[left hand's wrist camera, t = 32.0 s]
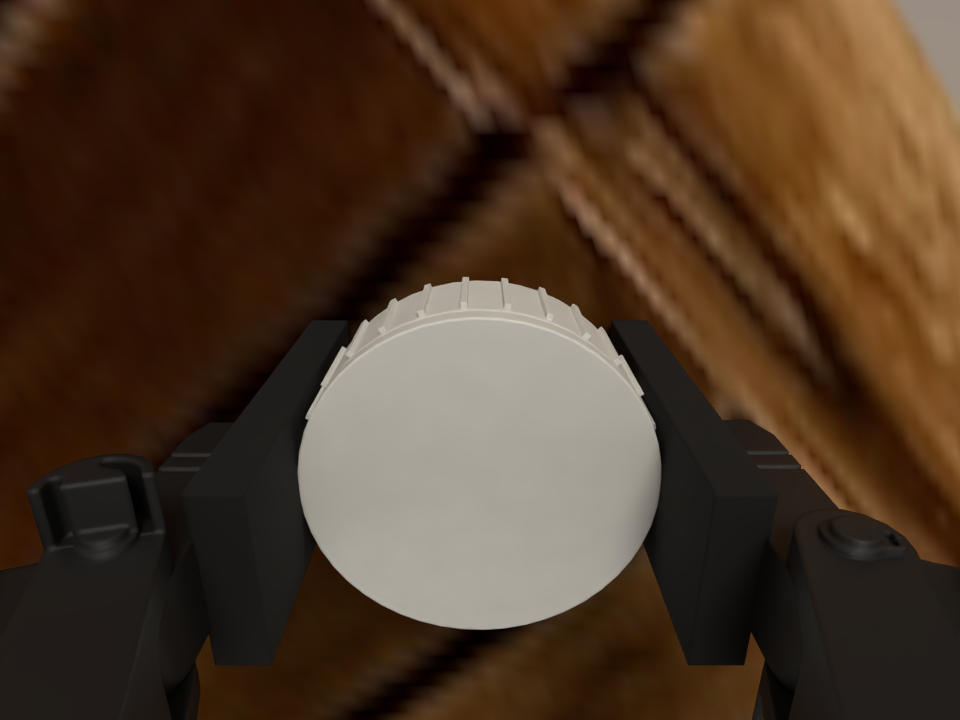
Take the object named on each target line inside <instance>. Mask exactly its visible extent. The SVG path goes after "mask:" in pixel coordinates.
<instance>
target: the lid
mask: <svg viewBox="0 0 960 720" xmlns="http://www.w3.org/2000/svg"><path fill="white" fill-rule="evenodd" d="M321 386H322V387H321V389H320V391H319V393H318V394H317V396H316V398H315V400H314V402H313V403H312V405H311V407H310V409H309V411H308V413H307V415H306V418H305V419H307V420H308V422H307V425H306V427H305V430H304V433H303V437H302V441H301V446H300V450H299V458H298V482H299V491H300V499H301V504H302V508H303V513H304V516H305V518H306V521H307V523H308V526H309V528H310V531H311V533H312V535H313V537H314V539H315V540H316V542H317V544H318V546H319V548H320V549H321V551H322V552H323V553H324V555H325V556H326V557H327V559H328V560H329V561H330V563H331V564H332V565H333V567H334V568H335V569H336V570H337V571H338V572H339V573H340V574H341V575H342V576H343V577H344V578H345V579H346V580H347V581H348V582H349V583H351V584H352V585H353V586H354V587H356V588H357V589H358V590H359V591H361V592H362V593H363V594H364V595H366V596H368V597H369V598H371V599H372V600H374V601H376V602H377V603H379V604H380V605H382V606H384V607H386V608H388V609H391V610H393V611H395V612H397V613H399V614H401V615H404V616H407V617H410V618H412V619H415V620H418V621H421V622H425V623H429V624H434V625H438V626H443V627H450V628H458V629H474V630H488V629H502V628H510V627H516V626H521V625H527V624H530V623H534V622H537V621H541V620H544V619H548V618H550V617H553V616H555V615H558V614H560V613H563V612H565V611H567V610H569V609H571V608H573V607H575V606H577V605H579V604H580V603H582V602H584V601H586V600H587V599H589V598H590V597H592V596H593V595H594V594H596V593H597V592H599V591H600V590H602V589H603V588H604V587H605V586H606V585H607V584H609V583H610V582H611V581H612V580H613V579H614V578H615V577H617V576H618V575H619V573H620V572H621V571H622V570H623V569H624V568H625V567H626V566H627V564H628V563H629V562H630V561H631V560H632V558H633V557H634V555H635V554H636V552H637V551H638V549H639V548H640V546H641V545H642V543H643V541H644V539H645V537H646V535H647V533H648V531H649V529H650V527H651V525H652V522H653V519H654V516H655V513H656V510H657V507H658V501H659V493H660V485H661V472H662V464H661V456H660V449H659V443H658V440H657V436H656V433H655V430H654V429H656V424H655V422H654V420H653V418H652V417H651V415H650V413H649V411H648V409H647V407H646V405H645V404H644V402H643V400H642V398H641V396H642V395H644V393H643V391H642V389H641V388H640V386H639V384H638V382H637V380H636V379H635V377H634V375H633V373H632V371H631V370H630V368H629V366H628V364H627V362H626V361H625V359H624V357H623V355H620V356H618V354H617V352H616V350H615V348H614V346H613V345H612V343H611V341H610V339H609V337H608V335H607V334H606V332H605V330H604V329H603V328H602V327H600V328H599V329H598V330H597V328H596V327H595V326H594V325H593V324H592V323H590V322H589V321H588V320H587V319H586V318H584V317H583V316H582V314H581V312H580V310H579V308H578V306H576V305H575V304H572V306H571V307H569V306H568V305H566V304H565V303H563V302H561V301H560V300H558V299H555V298H553V297H551V296H549V295H547V294H546V291H545V289H544V288H541V287H539V288H538V291H537V290H533V289H530V288H527V287H524V286H520V285H515V284H509V283H508V279H506V278H501V282H498V281H469V277H463V278H462V282H454V283H449V284H445V285H440V286H435V287H432V286H431V284H427V285H425V286H424V289H423V291H420V292H417V293H415V294H412V295H410V296H408V297H406V298H404V299H402V300H400V301H397V300H396V298H394V299H393V300H391V301H390V303H389V305H388V307H387V309H385V310H384V311H383V312H381V313H380V314H378V315H377V316H376V317H375V318H373V319H372V320H371V321H370V322H368V321H367V320H364V321H363V322H362V323H361V325H360V327H359V329H358V331H357V333H356V334H355V336H354V338H353V340H352V342H351V343H350V344H349V345H348V347H347V349H346V348H345V347H343V346H342V348H341V349H340V351H339V353H338V354H337V356H336V358H335V360H334V361H333V363H332V365H331V367H330V369H329V370H328V372H327V374H326V376H325V378H324V379H323V381H322V383H321Z"/></svg>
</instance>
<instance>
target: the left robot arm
mask: <svg viewBox="0 0 960 720" xmlns="http://www.w3.org/2000/svg"><path fill="white" fill-rule="evenodd" d="M610 341H611V343H612V345H613V346H614V348H615V350H616V352H617V354H618V356H620V355H623V357H624V359H625V361H626V362H627V364H628V366H629V368H630V370H631V371H632V373H633V375H634V377H635V379H636V380H637V382H638V384H639V386H640V388H641V389H642V391H643V393H644V395H642V396H641V398H642V400H643V402H644V404H645V405H646V407H647V409H648V411H649V413H650V415H651V417H652V418H653V420H654V422H655V424H656V429H654V430H655V433H656V436H657V440H658V443H659V449H660V456H661V464H662V472H661V485H660V493H659V501H658V507H657V510H656V513H655V516H654V519H653V522H652V525H651V527H650V529H649V531H648V533H647V535H646V537H645V539H644V541H643V544H644V547H645V549H646V552H647V555H648V558H649V560H650V563H651V566H652V568H653V571H654V574H655V577H656V579H657V582H658V585H659V587H660V590H661V593H662V596H663V598H664V601H665V604H666V606H667V609H668V612H669V614H670V617H671V620H672V623H673V625H674V628H675V631H676V633H677V636H678V639H679V642H680V644H681V647H682V650H683V652H684V655H685V658H686V661H687V663H688V665H744V663H745V658H746V653H747V648H748V643H749V638H750V633H751V632H752V634H753V636H754V638H755V640H756V642H757V644H758V646H759V648H760V650H761V652H762V654H763V656H764V658H765V662H764V666H763V671H762V675H761V680H760V684H759V689H758V694H757V698H756V703H755V707H754V712H753V717H752V720H762V719H764V720H960V568H959V567H954V566H948V565H943V564H938V563H933V562H929V561H925V560H921V559H920V558H919V556H918V554H917V552H916V550H915V549H914V547H913V546H912V545H911V544H910V543H909V541H908V540H907V539H906V538H905V537H904V536H903V535H901V534H900V533H899V532H897V531H896V530H894V529H893V528H891V527H890V526H888V525H887V524H885V523H882V522H880V521H878V520H875V519H873V518H871V517H868V516H866V515H863V514H859V513H855V512H851V511H847V510H843V509H839V508H838V507H837V506H836V505H835V504H834V503H833V502H832V500H831V499H830V498H829V497H828V496H827V495H826V494H825V492H824V491H823V490H822V489H821V488H820V487H819V486H818V485H817V483H816V482H815V481H814V480H813V479H812V478H811V477H810V475H809V474H808V473H807V472H806V471H805V470H804V469H801V465H800V464H799V463H798V462H797V461H796V459H795V458H794V457H793V456H792V455H789V454H788V450H787V449H786V448H785V447H784V446H783V445H782V444H781V442H780V441H779V440H778V439H777V438H776V437H775V436H774V435H773V434H772V433H770V432H768V431H767V430H765V429H763V428H761V427H760V426H758V425H756V424H755V423H753V422H751V421H749V420H722V419H721V417H720V416H719V415H718V413H717V412H716V411H715V409H714V408H713V407H712V406H711V404H710V403H709V402H708V400H707V399H706V398H705V396H704V395H703V394H702V392H701V391H700V390H699V388H698V387H697V386H696V384H695V383H694V382H693V380H692V379H691V378H690V377H689V375H688V374H687V373H686V371H685V370H684V369H683V367H682V366H681V365H680V363H679V362H678V361H677V359H676V358H675V357H674V355H673V354H672V353H671V352H670V350H669V349H668V348H667V346H666V345H665V344H664V342H663V341H662V340H661V338H660V337H659V336H658V334H657V333H656V332H655V330H654V329H653V328H652V326H651V325H650V324H649V323H648V321H612V322H611V335H610ZM348 345H349V331H348V321H312V322H311V323H310V324H309V326H308V327H307V328H306V329H305V331H304V332H303V333H302V335H301V336H300V337H299V339H298V340H297V341H296V343H295V344H294V345H293V347H292V348H291V349H290V351H289V352H288V353H287V354H286V356H285V357H284V358H283V360H282V361H281V362H280V364H279V365H278V366H277V368H276V369H275V370H274V372H273V373H272V374H271V376H270V377H269V378H268V380H267V381H266V382H265V383H264V385H263V386H262V387H261V389H260V390H259V391H258V393H257V394H256V395H255V397H254V398H253V399H252V401H251V402H250V403H249V405H248V406H247V407H246V409H245V410H244V411H243V412H242V414H241V415H240V416H239V418H238V419H237V420H236V422H210V423H209V424H207V425H205V426H204V427H202V428H200V429H199V430H197V431H195V432H193V433H192V434H190V435H188V436H187V437H185V439H184V440H183V441H182V442H181V443H180V444H179V445H178V447H177V448H176V449H175V450H174V451H173V452H172V454H171V457H168V458H167V459H166V460H165V462H164V463H163V464H162V465H161V466H160V467H159V472H155V473H154V469H153V465H152V463H151V462H149V461H148V460H146V459H145V458H144V457H141V456H136V455H131V454H107V455H100V456H95V457H91V458H86V459H81V460H78V461H76V462H73V463H70V464H67V465H65V466H62V467H59V468H57V469H55V470H53V471H52V472H50V473H48V474H47V475H45V476H43V477H41V478H40V479H38V480H37V481H36V482H35V483H34V484H33V485H32V486H31V487H30V488H29V489H28V490H27V491H26V492H27V495H28V499H29V502H30V505H31V508H32V512H33V515H34V518H35V521H36V525H37V528H38V531H39V534H40V538H41V541H42V544H43V547H44V553H43V555H42V557H41V559H40V561H39V563H35V564H31V565H26V566H21V567H16V568H11V569H6V570H1V571H0V720H197V713H198V705H199V697H200V682H199V675H198V671H197V666H196V662H195V660H196V658H197V656H198V654H199V652H200V650H201V648H202V646H203V644H204V642H205V640H206V638H207V636H208V634H209V637H210V642H211V646H212V651H213V656H214V661H215V665H271V664H272V662H273V659H274V656H275V653H276V651H277V648H278V645H279V643H280V640H281V637H282V634H283V632H284V629H285V626H286V624H287V621H288V618H289V615H290V613H291V610H292V607H293V605H294V602H295V599H296V596H297V594H298V591H299V588H300V586H301V583H302V580H303V577H304V575H305V572H306V569H307V567H308V564H309V561H310V559H311V556H312V553H313V550H314V548H315V545H316V540H315V539H314V537H313V535H312V533H311V531H310V528H309V526H308V523H307V521H306V518H305V516H304V513H303V508H302V504H301V499H300V491H299V482H298V458H299V450H300V446H301V441H302V437H303V433H304V430H305V427H306V425H307V422H308V420H307V419H305V418H306V415H307V413H308V411H309V409H310V407H311V405H312V403H313V402H314V400H315V398H316V396H317V394H318V393H319V391H320V389H321V387H322V386H321V383H322V381H323V379H324V378H325V376H326V374H327V372H328V370H329V369H330V367H331V365H332V363H333V361H334V360H335V358H336V356H337V354H338V353H339V351H340V349H341V348H342V346H343V347H345V348H346V349H347V347H348Z"/></svg>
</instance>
